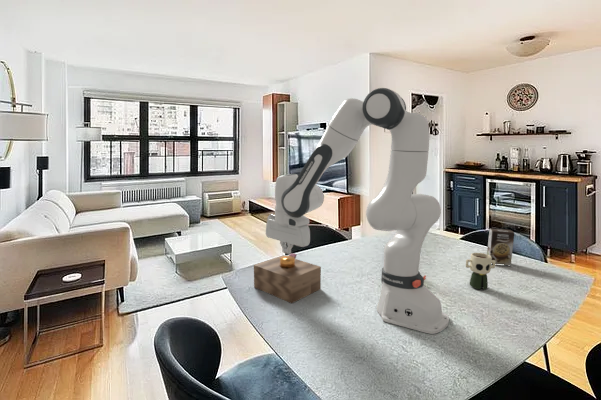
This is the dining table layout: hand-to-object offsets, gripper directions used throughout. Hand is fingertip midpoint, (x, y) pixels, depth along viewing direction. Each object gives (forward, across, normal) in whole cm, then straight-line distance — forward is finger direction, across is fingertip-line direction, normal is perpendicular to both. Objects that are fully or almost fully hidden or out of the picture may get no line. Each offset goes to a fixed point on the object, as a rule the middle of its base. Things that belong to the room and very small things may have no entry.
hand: (286, 253), depth 129 cm
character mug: (+14, +54, +51) cm, 76 cm away
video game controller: (+14, -16, +18) cm, 28 cm away
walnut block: (+14, 0, 0) cm, 14 cm away
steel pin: (+14, 0, 0) cm, 14 cm away
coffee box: (+14, +53, +87) cm, 103 cm away
